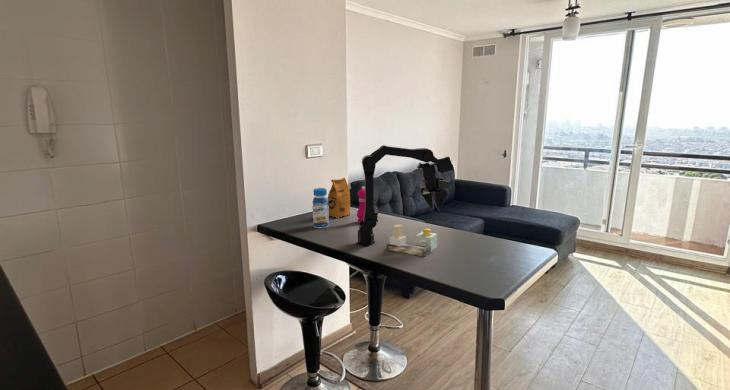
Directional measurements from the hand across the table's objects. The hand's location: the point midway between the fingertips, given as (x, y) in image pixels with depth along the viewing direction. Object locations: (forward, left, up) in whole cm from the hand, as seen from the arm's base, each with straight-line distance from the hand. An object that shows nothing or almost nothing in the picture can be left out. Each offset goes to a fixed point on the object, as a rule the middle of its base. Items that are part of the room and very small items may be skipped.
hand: (435, 209), depth 174 cm
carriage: (-10, -18, -12) cm, 24 cm away
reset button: (0, -10, -12) cm, 16 cm away
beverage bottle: (-61, -7, -15) cm, 63 cm away
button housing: (0, -10, -15) cm, 18 cm away
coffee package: (-66, +16, -15) cm, 70 cm away
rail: (-5, -18, -15) cm, 24 cm away
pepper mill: (-46, +11, -15) cm, 50 cm away
